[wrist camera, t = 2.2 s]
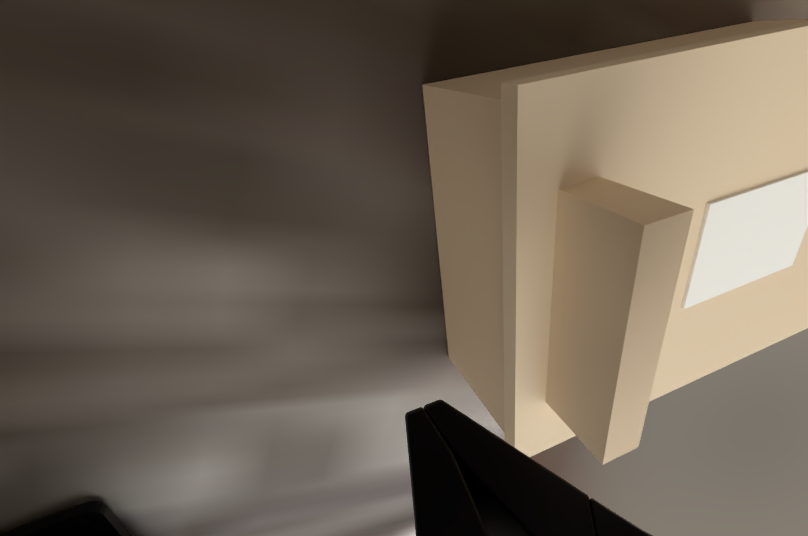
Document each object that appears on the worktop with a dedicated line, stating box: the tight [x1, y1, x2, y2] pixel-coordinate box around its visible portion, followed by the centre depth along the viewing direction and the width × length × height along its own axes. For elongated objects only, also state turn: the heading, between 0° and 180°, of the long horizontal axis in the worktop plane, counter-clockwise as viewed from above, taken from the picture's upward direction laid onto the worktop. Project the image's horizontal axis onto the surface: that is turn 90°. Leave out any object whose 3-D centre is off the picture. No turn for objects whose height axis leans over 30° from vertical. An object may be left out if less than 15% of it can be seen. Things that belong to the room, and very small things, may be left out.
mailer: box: [422, 19, 808, 433], centre depth 16 cm, size 14×11×4 cm
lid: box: [501, 21, 808, 464], centre depth 12 cm, size 14×12×3 cm
